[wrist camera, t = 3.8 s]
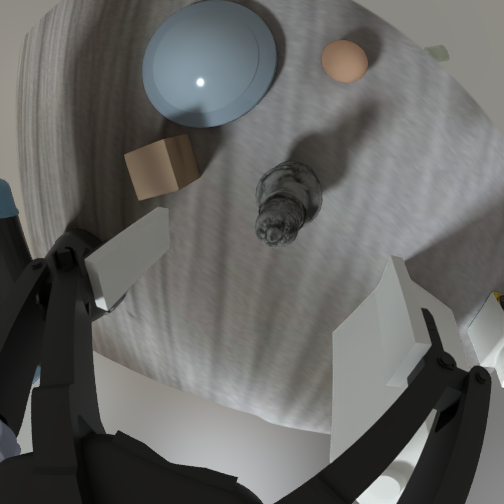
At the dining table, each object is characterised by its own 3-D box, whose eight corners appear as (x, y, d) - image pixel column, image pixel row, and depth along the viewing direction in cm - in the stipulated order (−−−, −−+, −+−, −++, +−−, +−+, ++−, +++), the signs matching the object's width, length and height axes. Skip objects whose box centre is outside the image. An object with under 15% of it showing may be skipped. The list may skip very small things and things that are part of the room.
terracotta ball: (319, 80, 21) (318, 74, 18) (323, 42, 19) (323, 30, 16) (361, 88, 21) (368, 84, 17) (366, 51, 19) (373, 41, 15)
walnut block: (163, 186, 30) (138, 200, 26) (150, 146, 28) (123, 154, 24) (200, 177, 29) (179, 190, 25) (188, 133, 27) (163, 139, 23)
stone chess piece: (263, 157, 26) (221, 190, 16) (324, 160, 25) (324, 197, 15) (263, 212, 29) (227, 276, 19) (320, 217, 28) (315, 286, 18)
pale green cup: (434, 56, 55) (450, 53, 52) (424, 43, 56) (440, 41, 53) (432, 66, 61) (447, 64, 58) (423, 54, 62) (438, 52, 59)
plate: (144, 124, 27) (138, 126, 26) (155, 12, 20) (149, 9, 19) (269, 133, 25) (266, 134, 24) (284, 3, 18) (282, -2, 17)
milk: (391, 362, 35) (393, 534, 13) (332, 332, 34) (305, 536, 12) (451, 309, 28) (499, 501, 6) (394, 267, 28) (434, 520, 6)
